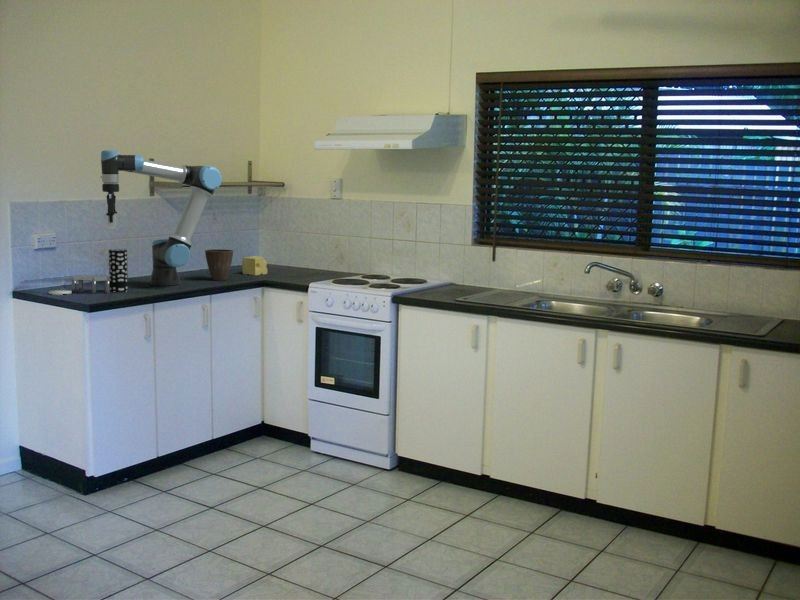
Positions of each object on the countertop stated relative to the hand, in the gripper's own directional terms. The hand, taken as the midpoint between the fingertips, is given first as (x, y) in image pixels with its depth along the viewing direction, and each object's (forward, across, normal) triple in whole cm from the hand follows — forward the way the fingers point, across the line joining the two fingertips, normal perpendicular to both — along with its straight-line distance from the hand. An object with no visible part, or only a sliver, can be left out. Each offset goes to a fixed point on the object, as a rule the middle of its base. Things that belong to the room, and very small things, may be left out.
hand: (112, 228), depth 396 cm
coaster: (+30, +5, -24) cm, 39 cm away
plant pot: (+31, -38, +52) cm, 72 cm away
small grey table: (+30, +4, -11) cm, 32 cm away
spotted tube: (+30, +1, +2) cm, 31 cm away
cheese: (+32, -62, +73) cm, 101 cm away
